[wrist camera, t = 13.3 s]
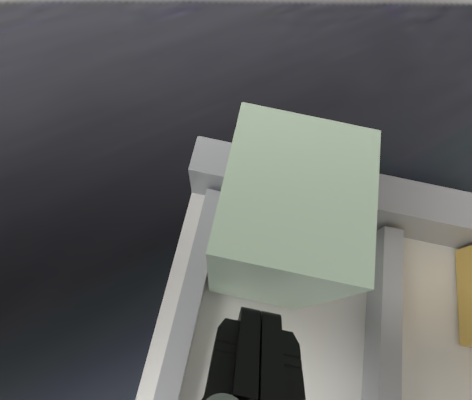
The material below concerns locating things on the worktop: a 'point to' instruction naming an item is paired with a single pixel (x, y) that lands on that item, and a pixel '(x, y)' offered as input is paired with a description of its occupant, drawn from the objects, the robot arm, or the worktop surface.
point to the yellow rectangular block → (464, 294)
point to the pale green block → (296, 210)
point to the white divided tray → (331, 302)
